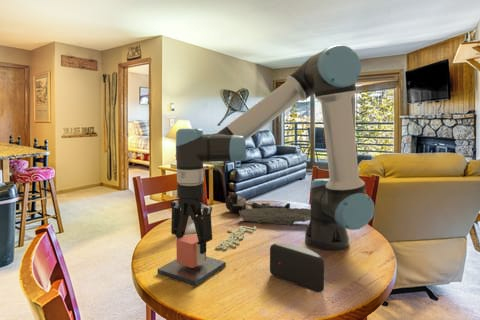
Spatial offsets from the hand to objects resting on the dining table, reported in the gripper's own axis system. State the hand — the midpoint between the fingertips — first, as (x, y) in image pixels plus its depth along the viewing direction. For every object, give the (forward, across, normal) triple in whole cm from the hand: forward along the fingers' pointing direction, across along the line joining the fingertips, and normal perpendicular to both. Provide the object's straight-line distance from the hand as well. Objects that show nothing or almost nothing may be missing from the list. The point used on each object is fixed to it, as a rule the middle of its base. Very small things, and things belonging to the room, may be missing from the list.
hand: (191, 260), depth 93 cm
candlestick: (+3, -25, +28) cm, 38 cm away
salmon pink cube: (0, 0, 0) cm, 0 cm away
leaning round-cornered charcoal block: (+3, +29, +8) cm, 30 cm away
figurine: (+3, -12, +60) cm, 61 cm away
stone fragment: (+3, +2, +52) cm, 53 cm away
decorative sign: (+3, -4, +29) cm, 30 cm away
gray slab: (+3, 0, 0) cm, 3 cm away
